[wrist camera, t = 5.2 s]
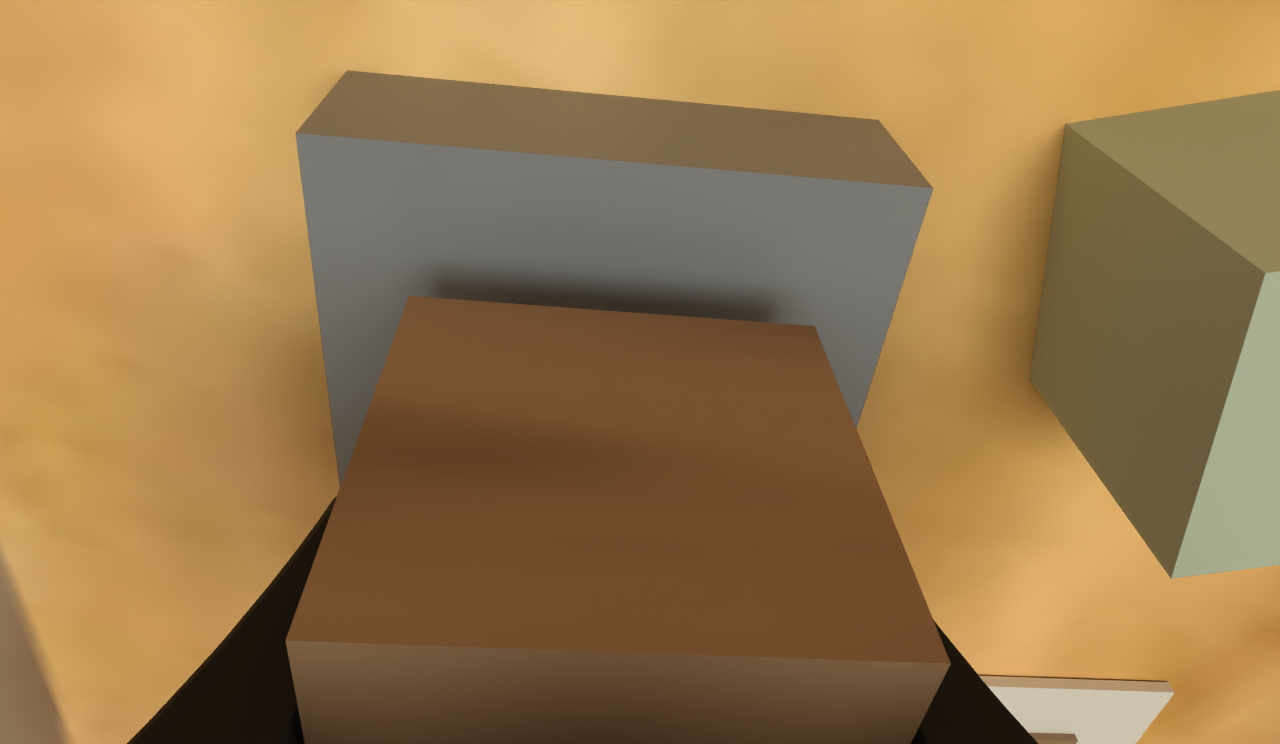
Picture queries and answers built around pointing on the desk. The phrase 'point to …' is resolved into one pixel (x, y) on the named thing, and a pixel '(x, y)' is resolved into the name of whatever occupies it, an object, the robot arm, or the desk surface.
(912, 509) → the desk surface
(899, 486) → the desk surface
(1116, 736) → the placard
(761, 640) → the walnut block
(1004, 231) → the desk surface
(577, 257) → the slate slab
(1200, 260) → the sage block
